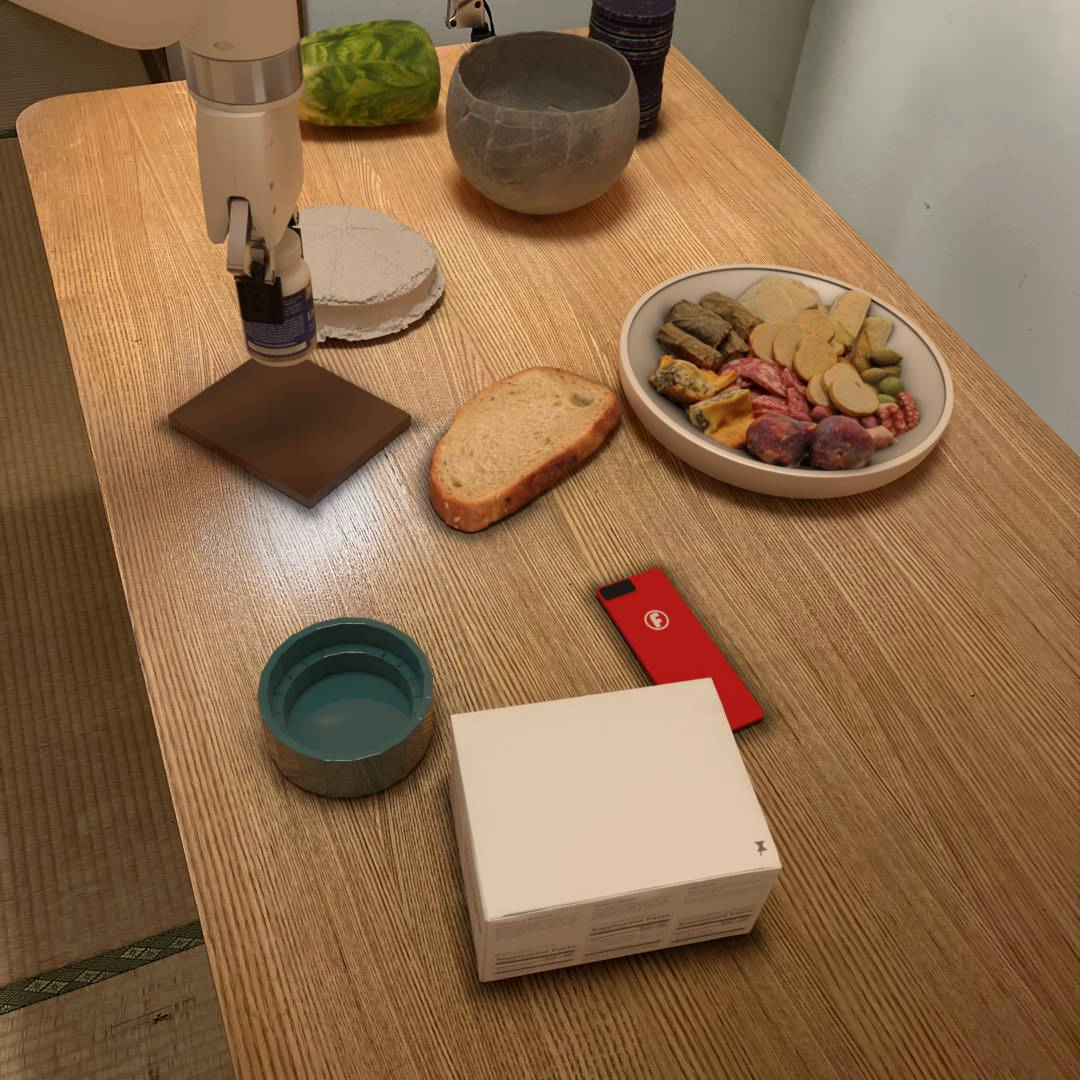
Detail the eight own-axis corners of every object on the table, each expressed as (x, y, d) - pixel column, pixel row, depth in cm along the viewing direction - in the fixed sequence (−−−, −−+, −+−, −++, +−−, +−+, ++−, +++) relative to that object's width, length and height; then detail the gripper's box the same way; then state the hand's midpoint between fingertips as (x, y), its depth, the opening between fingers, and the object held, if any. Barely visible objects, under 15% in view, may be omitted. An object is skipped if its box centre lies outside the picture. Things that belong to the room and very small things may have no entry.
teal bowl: (231, 740, 72) (220, 699, 69) (342, 634, 79) (338, 591, 75) (359, 832, 69) (355, 793, 65) (465, 712, 75) (466, 671, 71)
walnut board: (169, 425, 92) (166, 414, 91) (276, 351, 100) (274, 341, 99) (310, 509, 87) (308, 498, 86) (411, 424, 94) (411, 414, 94)
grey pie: (196, 305, 104) (184, 243, 98) (317, 212, 116) (312, 153, 111) (372, 376, 98) (369, 315, 93) (479, 271, 111) (481, 212, 106)
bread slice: (433, 536, 86) (433, 503, 83) (415, 389, 98) (414, 356, 95) (651, 521, 89) (658, 489, 86) (608, 380, 100) (612, 348, 98)
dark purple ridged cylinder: (658, 146, 131) (683, -8, 117) (577, 138, 131) (593, -17, 117) (656, 108, 138) (680, -43, 124) (580, 100, 137) (596, -51, 124)
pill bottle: (329, 357, 87) (319, 250, 79) (262, 378, 84) (245, 270, 77) (300, 318, 90) (288, 212, 82) (234, 337, 87) (216, 229, 80)
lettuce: (257, 110, 130) (245, 14, 121) (422, 92, 136) (421, -1, 127) (278, 157, 123) (266, 59, 114) (450, 136, 129) (451, 41, 120)
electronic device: (765, 719, 76) (658, 570, 85) (766, 714, 76) (659, 565, 85) (695, 747, 74) (593, 592, 83) (697, 743, 74) (594, 588, 83)
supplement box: (688, 750, 74) (714, 672, 67) (751, 935, 66) (788, 868, 59) (445, 786, 71) (446, 708, 64) (479, 986, 63) (484, 921, 56)
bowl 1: (488, 135, 130) (493, 6, 119) (649, 177, 126) (670, 48, 115) (414, 217, 117) (412, 80, 105) (591, 267, 113) (608, 131, 101)
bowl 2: (575, 319, 106) (583, 250, 101) (848, 292, 113) (871, 226, 107) (674, 541, 87) (691, 472, 82) (996, 493, 94) (1033, 426, 88)
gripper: (222, 4, 76) (254, 230, 89) (143, 121, 64) (194, 360, 78) (328, 16, 76) (344, 240, 89) (269, 134, 64) (297, 371, 78)
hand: (274, 294), depth 83 cm, fingers closed on pill bottle, 5 cm apart
